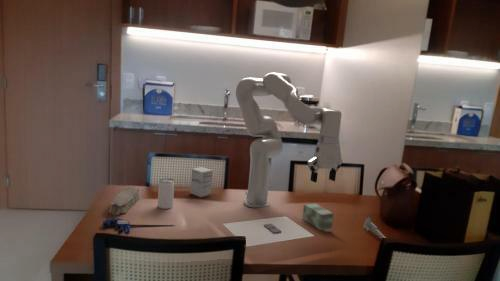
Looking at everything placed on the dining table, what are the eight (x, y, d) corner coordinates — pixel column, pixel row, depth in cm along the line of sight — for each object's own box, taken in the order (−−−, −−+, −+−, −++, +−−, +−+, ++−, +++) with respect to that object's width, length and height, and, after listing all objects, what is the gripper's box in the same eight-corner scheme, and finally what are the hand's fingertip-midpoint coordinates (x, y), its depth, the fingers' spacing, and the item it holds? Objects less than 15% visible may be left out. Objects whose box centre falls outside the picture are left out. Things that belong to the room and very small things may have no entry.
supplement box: (189, 193, 183) (191, 168, 181) (200, 190, 189) (202, 166, 187) (200, 197, 179) (202, 172, 177) (211, 194, 185) (213, 169, 183)
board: (222, 227, 148) (222, 223, 148) (285, 219, 163) (285, 216, 162) (245, 250, 131) (246, 246, 131) (313, 239, 145) (314, 235, 145)
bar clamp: (101, 228, 132) (103, 217, 141) (100, 235, 132) (103, 223, 142) (192, 229, 142) (189, 218, 151) (192, 235, 142) (189, 224, 151)
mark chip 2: (268, 230, 146) (269, 228, 146) (276, 229, 148) (276, 227, 148) (273, 233, 143) (273, 232, 143) (281, 232, 145) (281, 231, 145)
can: (154, 207, 161) (156, 180, 159) (161, 202, 168) (163, 177, 165) (168, 210, 160) (170, 183, 158) (175, 205, 166) (176, 179, 164)
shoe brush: (124, 216, 150) (125, 204, 149) (106, 215, 150) (106, 203, 149) (141, 196, 173) (142, 186, 172) (125, 195, 173) (125, 185, 172)
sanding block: (301, 222, 162) (304, 204, 161) (312, 220, 165) (315, 203, 164) (319, 233, 152) (322, 214, 150) (330, 231, 155) (333, 213, 153)
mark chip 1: (263, 225, 150) (263, 224, 150) (271, 224, 151) (271, 223, 151) (268, 229, 147) (268, 228, 147) (275, 228, 148) (275, 227, 148)
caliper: (363, 229, 161) (365, 215, 160) (365, 229, 161) (367, 215, 160) (394, 252, 142) (397, 236, 141) (396, 252, 142) (399, 236, 141)
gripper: (317, 142, 144) (311, 184, 147) (350, 141, 153) (344, 182, 156) (305, 138, 151) (300, 179, 154) (338, 138, 159) (332, 177, 162)
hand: (322, 180), depth 155 cm, fingers open, 9 cm apart
